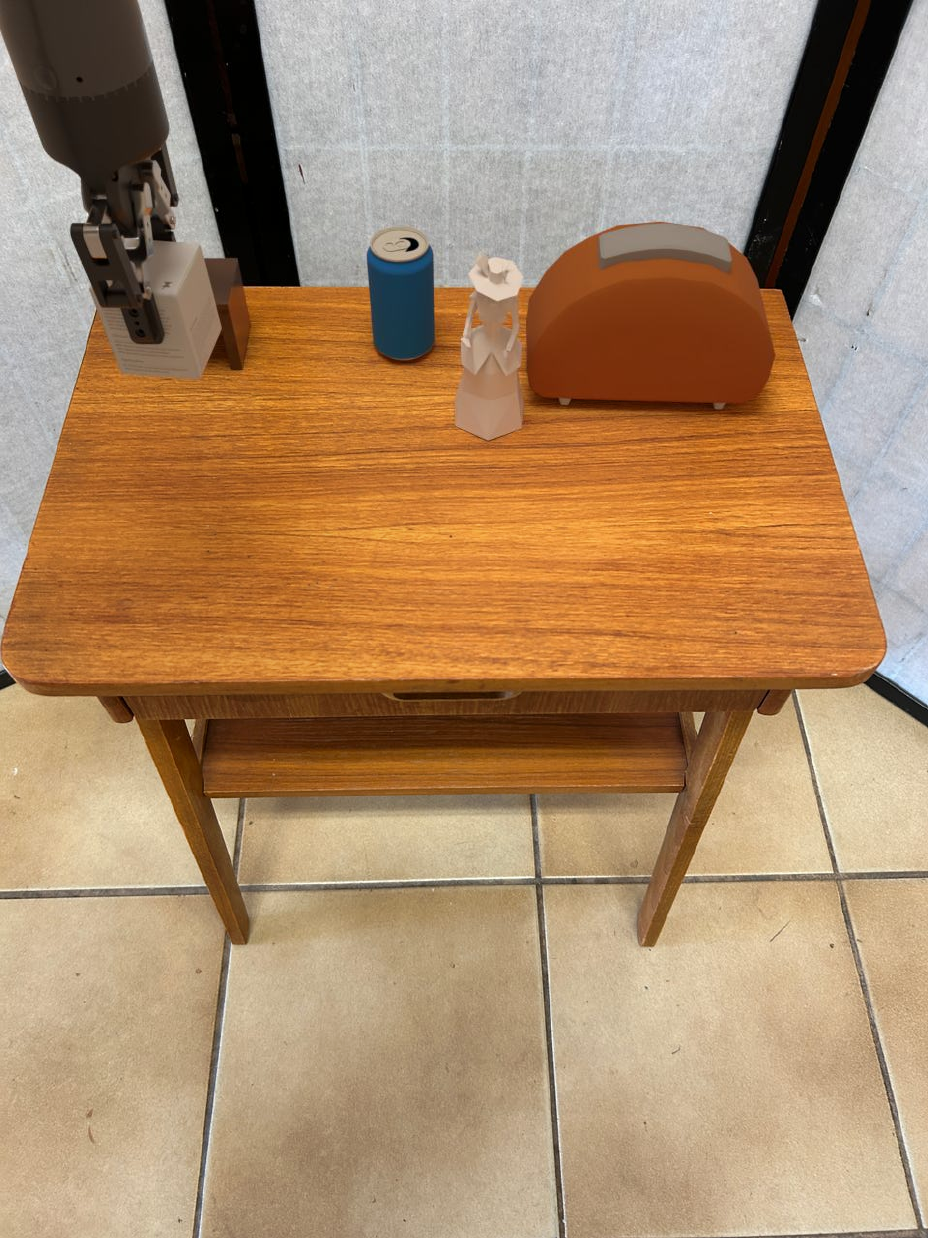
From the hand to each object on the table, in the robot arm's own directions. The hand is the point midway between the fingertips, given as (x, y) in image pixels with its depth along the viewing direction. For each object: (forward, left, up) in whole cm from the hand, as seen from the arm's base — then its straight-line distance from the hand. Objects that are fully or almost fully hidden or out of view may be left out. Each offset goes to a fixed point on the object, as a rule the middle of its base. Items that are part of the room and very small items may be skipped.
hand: (160, 308), depth 67 cm
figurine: (+26, -13, -23) cm, 37 cm away
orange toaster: (+38, -23, -23) cm, 50 cm away
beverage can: (+30, 0, -23) cm, 37 cm away
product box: (0, 0, -4) cm, 4 cm away
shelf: (+17, +19, -23) cm, 34 cm away
